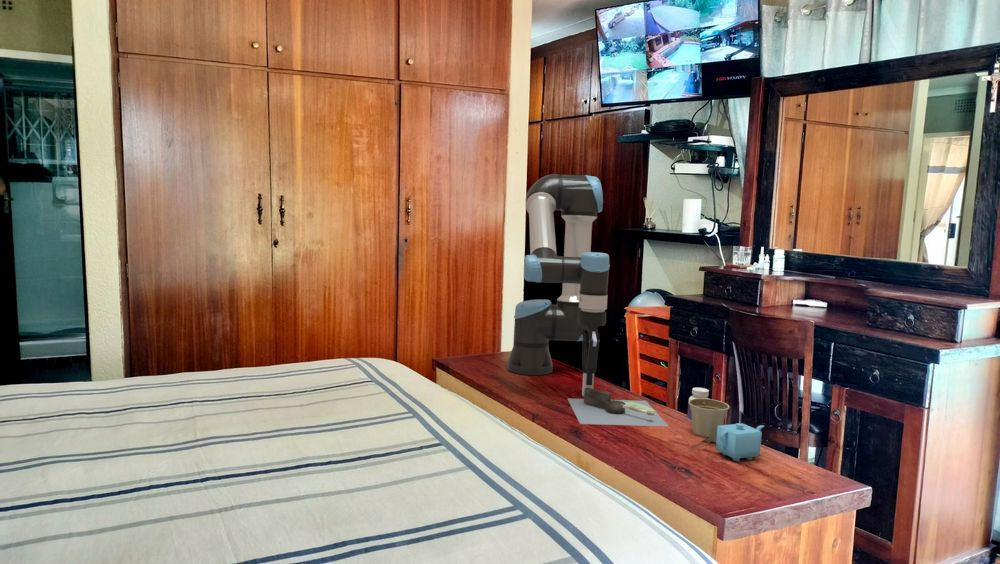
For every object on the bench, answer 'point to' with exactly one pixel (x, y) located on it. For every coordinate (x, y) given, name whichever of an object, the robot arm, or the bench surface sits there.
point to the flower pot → (707, 417)
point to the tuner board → (616, 414)
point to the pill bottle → (696, 394)
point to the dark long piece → (608, 402)
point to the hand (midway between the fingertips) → (587, 395)
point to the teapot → (739, 441)
